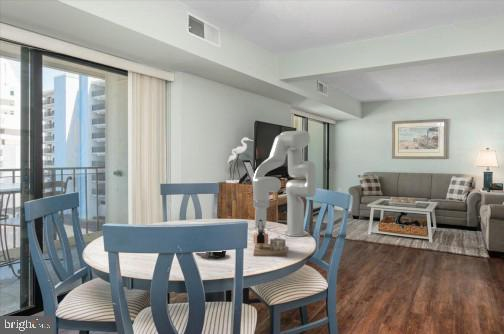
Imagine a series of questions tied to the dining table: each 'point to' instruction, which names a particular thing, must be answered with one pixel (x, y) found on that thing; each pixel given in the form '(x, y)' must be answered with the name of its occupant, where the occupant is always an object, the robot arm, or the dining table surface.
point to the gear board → (271, 248)
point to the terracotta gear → (264, 239)
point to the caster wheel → (212, 254)
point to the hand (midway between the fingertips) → (261, 240)
